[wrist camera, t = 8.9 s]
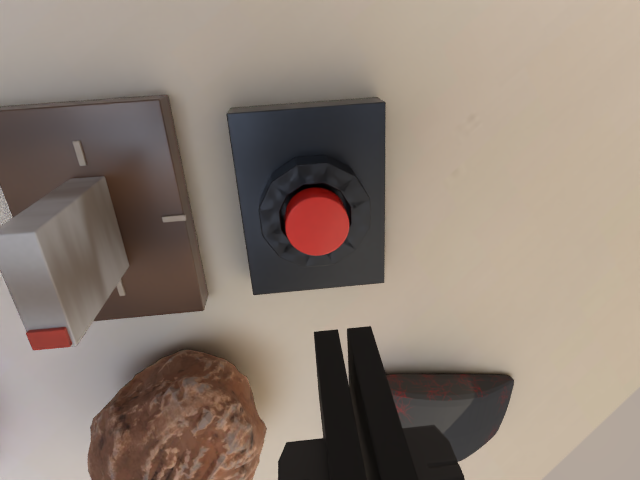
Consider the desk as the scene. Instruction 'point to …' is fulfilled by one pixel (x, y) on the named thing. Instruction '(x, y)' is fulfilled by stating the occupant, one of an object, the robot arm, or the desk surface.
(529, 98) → the desk surface
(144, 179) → the panel
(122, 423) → the decorative rock
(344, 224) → the button
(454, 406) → the dark grey rounded block
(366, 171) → the button block
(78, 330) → the tap handle
